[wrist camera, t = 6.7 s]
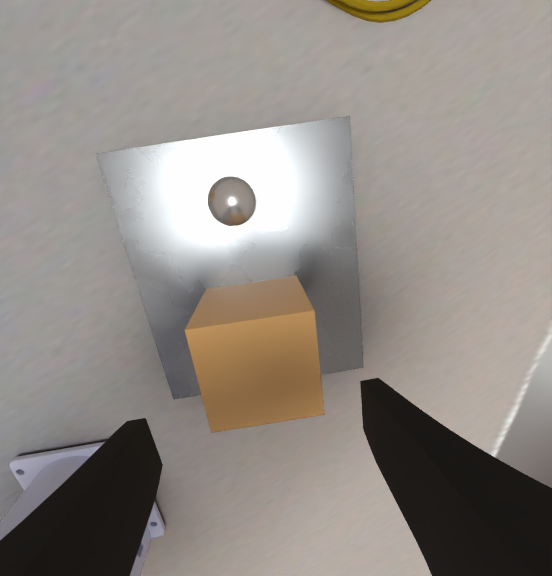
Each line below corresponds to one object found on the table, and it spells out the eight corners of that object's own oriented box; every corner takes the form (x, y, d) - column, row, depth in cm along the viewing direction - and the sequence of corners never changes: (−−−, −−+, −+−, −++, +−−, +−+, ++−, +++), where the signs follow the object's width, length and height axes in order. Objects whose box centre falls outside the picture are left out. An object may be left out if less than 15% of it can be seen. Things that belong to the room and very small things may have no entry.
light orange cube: (305, 354, 17) (324, 414, 12) (223, 366, 17) (211, 432, 12) (296, 275, 16) (314, 310, 11) (206, 289, 15) (184, 330, 11)
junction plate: (357, 358, 19) (383, 400, 15) (177, 388, 18) (157, 438, 15) (343, 121, 14) (375, 93, 10) (106, 156, 14) (50, 141, 10)
